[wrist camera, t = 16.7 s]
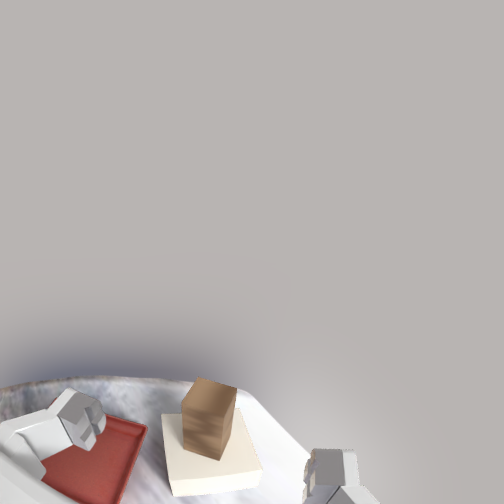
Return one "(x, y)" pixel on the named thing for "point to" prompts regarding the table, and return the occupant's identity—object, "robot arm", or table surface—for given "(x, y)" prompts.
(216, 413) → the walnut block
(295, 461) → the table surface
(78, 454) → the plant saucer
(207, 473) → the plinth
